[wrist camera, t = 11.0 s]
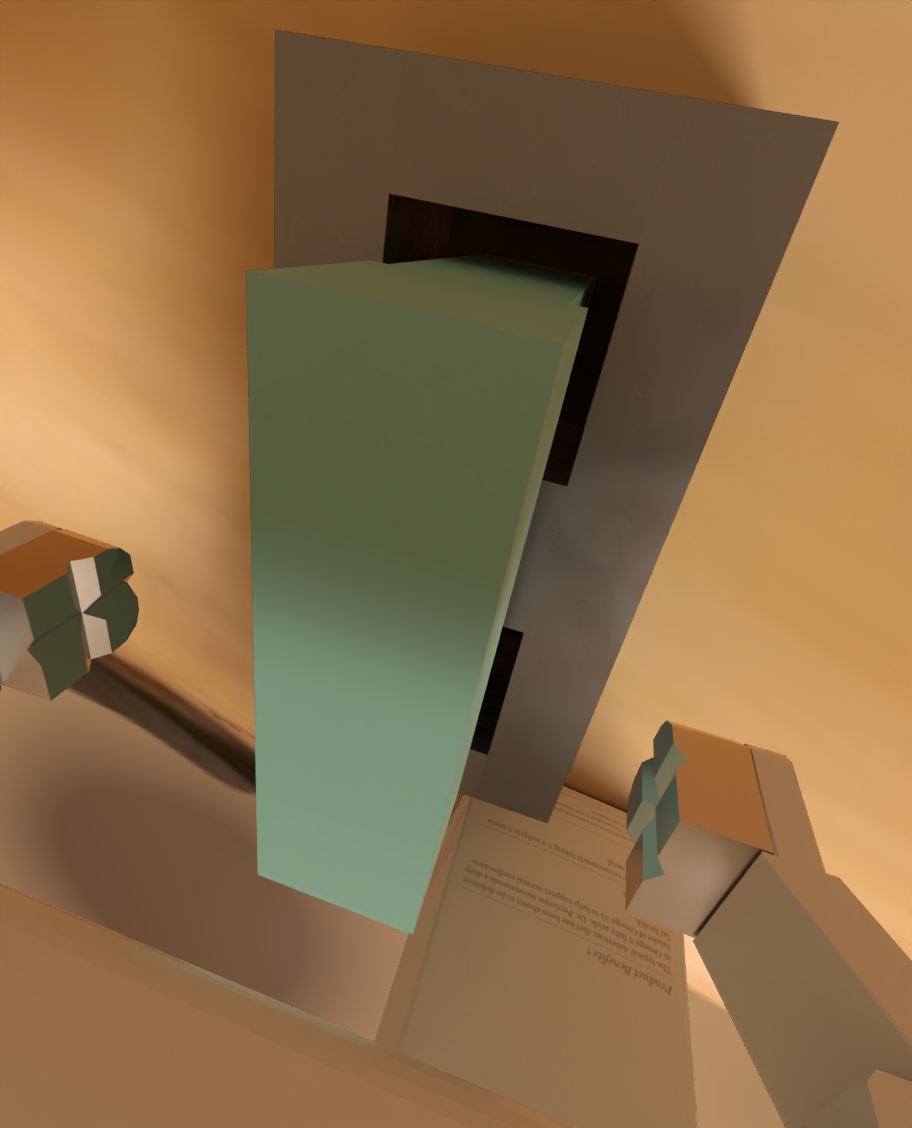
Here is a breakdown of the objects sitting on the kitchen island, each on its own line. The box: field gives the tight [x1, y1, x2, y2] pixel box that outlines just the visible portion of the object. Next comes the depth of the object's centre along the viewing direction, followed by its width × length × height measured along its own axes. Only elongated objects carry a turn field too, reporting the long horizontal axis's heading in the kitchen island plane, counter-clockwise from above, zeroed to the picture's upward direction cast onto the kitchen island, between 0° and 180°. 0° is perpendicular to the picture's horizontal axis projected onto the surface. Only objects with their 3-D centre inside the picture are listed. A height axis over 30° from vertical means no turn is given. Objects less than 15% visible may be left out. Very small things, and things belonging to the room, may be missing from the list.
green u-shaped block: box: [246, 254, 596, 935], centre depth 12 cm, size 3×10×9 cm, turn 170°
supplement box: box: [374, 786, 698, 1128], centre depth 17 cm, size 7×7×13 cm
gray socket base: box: [274, 30, 839, 824], centre depth 14 cm, size 8×15×4 cm, turn 170°
